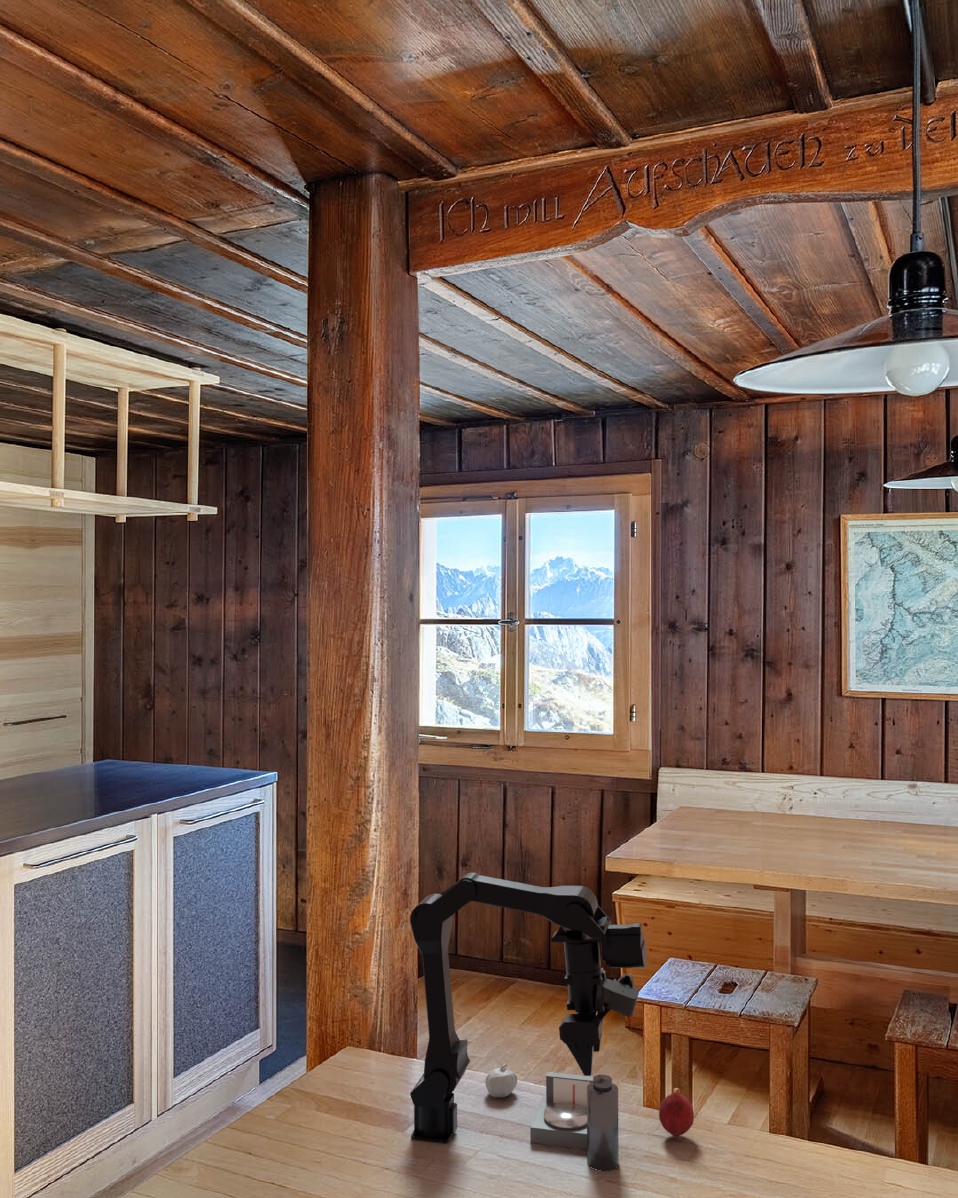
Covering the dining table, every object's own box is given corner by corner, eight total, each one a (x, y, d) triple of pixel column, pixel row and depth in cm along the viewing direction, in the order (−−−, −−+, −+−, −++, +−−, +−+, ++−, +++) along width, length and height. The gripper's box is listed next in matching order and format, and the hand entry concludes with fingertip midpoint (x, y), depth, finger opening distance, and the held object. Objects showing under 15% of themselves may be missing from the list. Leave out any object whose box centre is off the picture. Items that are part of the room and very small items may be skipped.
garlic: (507, 1084, 196) (507, 1056, 196) (522, 1096, 192) (522, 1068, 192) (479, 1092, 193) (479, 1064, 193) (494, 1104, 189) (494, 1075, 189)
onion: (693, 1147, 174) (693, 1098, 174) (658, 1144, 175) (658, 1095, 175) (693, 1129, 179) (693, 1082, 179) (659, 1126, 181) (659, 1080, 181)
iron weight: (585, 1169, 167) (584, 1084, 167) (589, 1153, 172) (589, 1070, 172) (616, 1173, 166) (616, 1087, 166) (620, 1156, 171) (619, 1073, 171)
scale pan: (539, 1126, 176) (539, 1123, 176) (548, 1104, 183) (548, 1100, 183) (587, 1132, 174) (587, 1128, 174) (594, 1109, 181) (594, 1105, 181)
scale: (530, 1142, 176) (530, 1100, 175) (542, 1111, 186) (542, 1071, 186) (596, 1150, 173) (596, 1107, 173) (604, 1118, 184) (604, 1078, 184)
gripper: (626, 988, 161) (635, 1090, 161) (638, 948, 179) (647, 1040, 179) (554, 987, 164) (563, 1088, 164) (574, 948, 182) (582, 1039, 182)
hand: (592, 1063), depth 172 cm, fingers open, 9 cm apart
